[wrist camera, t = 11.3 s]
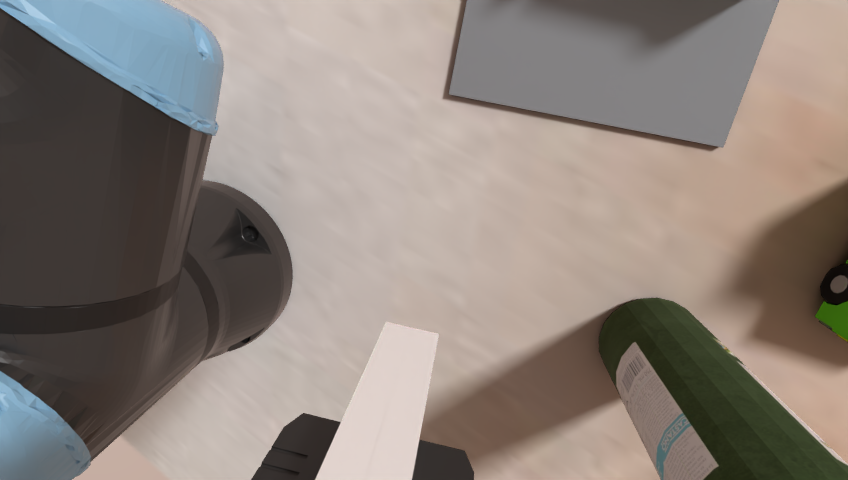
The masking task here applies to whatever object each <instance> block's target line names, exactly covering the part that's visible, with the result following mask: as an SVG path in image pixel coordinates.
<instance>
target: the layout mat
mask: <svg viewBox="0 0 848 480" xmlns="http://www.w3.org/2000/svg"><path fill="white" fill-rule="evenodd" d="M778 2H779V0H467V3H466V8H465V13H464V18H463V23H462V28H461V34H460V39H459V44H458V49H457V54H456V60H455V65H454V70H453V75H452V80H451V85H450V91H449V95H454V96H460V97H465V98H470V99H475V100H480V101H485V102H490V103H496V104H501V105H506V106H511V107H516V108H521V109H526V110H532V111H537V112H542V113H547V114H552V115H557V116H563V117H568V118H573V119H578V120H583V121H588V122H593V123H599V124H604V125H609V126H614V127H619V128H624V129H630V130H635V131H640V132H645V133H650V134H655V135H660V136H666V137H671V138H676V139H681V140H686V141H691V142H697V143H702V144H707V145H712V146H717V147H724V144H725V141H726V139H727V136H728V134H729V131H730V128H731V126H732V123H733V120H734V118H735V115H736V112H737V110H738V107H739V105H740V102H741V99H742V97H743V94H744V91H745V89H746V86H747V84H748V81H749V78H750V76H751V73H752V70H753V68H754V65H755V62H756V60H757V57H758V55H759V52H760V49H761V47H762V44H763V41H764V39H765V36H766V34H767V31H768V28H769V26H770V23H771V20H772V18H773V15H774V13H775V10H776V7H777V5H778Z"/></svg>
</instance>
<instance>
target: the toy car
mask: <svg viewBox="0 0 848 480" xmlns="http://www.w3.org/2000/svg"><path fill="white" fill-rule="evenodd" d="M846 263H847V264H848V260H847V262H846ZM820 288H821V295H822V297H823V298H824V299H825V300H826V301H827V302H826V301H823V303H822V305H821V307H820V308H819V310H818V312H817V314H816V315H815V317H816V318H818V319H819V322H820V323H822V324H823V325H825V326H826V327H827V328H829V329H831V330H832V331H833V332H835V333H837V336H839V337H840V338H842V339H844V340H845V341H847V342H848V265H840V266H837V267H835V268H832V269H831V270H830V271H829V272H828V273H827V274H826V276H825V278H824V279H823V281H822V283H821V286H820Z"/></svg>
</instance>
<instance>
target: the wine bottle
mask: <svg viewBox="0 0 848 480" xmlns="http://www.w3.org/2000/svg"><path fill="white" fill-rule="evenodd" d="M599 352H600V355H601V357H602V360H603V362H604V364H605V366H606V368H607V370H608V373H609V375H610V377H611V379H612V381H613V383H614V385H615V387H616V389H617V391H618V393H619V395H620V397H621V399H622V401H623V403H624V405H625V407H626V409H627V411H628V413H629V415H630V417H631V420H632V422H633V424H634V426H635V428H636V430H637V432H638V434H639V436H640V438H641V440H642V442H643V444H644V446H645V448H646V450H647V452H648V454H649V456H650V458H651V460H652V462H653V464H654V466H655V469H656V471H657V473H658V475H659V477H660V479H661V480H848V464H847V463H846V462H845V461H844V460H843V459H842V458H841V457H840V456H839V455H838V454H837V453H836V452H835V451H834V450H833V449H831V448H830V447H829V446H828V445H827V444H826V443H825V442H824V441H823V440H822V439H821V438H820V437H819V436H818V435H817V434H816V433H815V432H814V431H813V430H812V429H811V428H810V427H809V426H808V425H806V424H805V423H804V422H803V421H802V420H801V419H800V418H799V417H798V416H797V415H796V414H795V413H794V412H793V411H792V410H791V409H790V408H789V407H788V406H787V405H786V404H785V403H784V402H783V401H781V400H780V399H779V398H778V397H777V396H776V395H775V394H774V393H773V392H772V391H771V390H770V389H769V388H768V387H767V386H766V385H765V384H764V383H763V382H762V381H761V380H760V379H759V378H758V377H757V376H755V375H754V374H753V373H752V372H751V371H750V370H749V369H748V368H747V367H746V366H745V365H744V364H743V363H742V362H741V361H740V360H739V359H738V358H737V357H736V356H735V355H734V354H733V353H732V352H730V351H729V350H728V349H727V348H726V347H725V346H724V345H723V344H722V343H721V342H720V341H719V340H718V339H717V338H716V337H715V336H714V335H713V334H712V333H711V332H710V331H709V330H708V329H707V328H706V327H704V326H703V325H702V324H701V323H700V322H699V321H698V320H697V319H696V318H695V317H694V316H693V315H692V314H691V313H690V312H689V311H688V310H687V309H685V308H684V307H682V306H680V305H678V304H677V303H675V302H673V301H669V300H665V299H660V298H645V299H638V300H635V301H632V302H629V303H626V304H624V305H623V306H621V307H620V308H618V309H617V310H616V311H614V312H613V313H612V314H611V315H610V317H609V318H608V319H607V320H606V322H605V323H604V325H603V328H602V330H601V333H600V336H599Z"/></svg>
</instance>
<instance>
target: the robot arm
mask: <svg viewBox="0 0 848 480" xmlns="http://www.w3.org/2000/svg"><path fill="white" fill-rule="evenodd" d="M223 66H224V61H223V54H222V50H221V48H220V45H219V43H218V41H217V39H216V38H215V36H214V35H213V33H212V32H211V31H210V30H209V29H208V28H207V27H206V26H205V25H204V24H203V23H202V22H200V21H199V20H197V19H195V18H194V17H192V16H190V15H189V14H187V13H185V12H183V11H181V10H179V9H177V8H175V7H173V6H171V5H169V4H167V3H165V2H163V1H161V0H0V480H72V479H73V478H74V477H76V476H79V475H80V474H81V473H83V472H84V471H85V470H86V469H87V468H88V466H90V462H91V461H92V460H93V459H94V458H95V457H97V456H98V455H99V454H100V453H101V452H102V451H103V450H104V449H105V448H106V447H108V445H110V444H111V443H112V442H113V441H114V440H115V439H116V438H117V437H119V436H120V435H121V434H122V433H123V432H124V431H125V430H126V429H127V428H128V427H130V426H131V425H132V424H133V423H134V422H135V421H136V420H137V419H138V418H139V417H141V416H142V415H143V414H144V413H145V412H146V411H147V410H148V409H149V408H150V407H152V406H153V405H154V404H155V403H156V402H157V401H158V400H159V399H160V398H161V397H163V396H164V395H165V394H166V393H167V392H168V391H169V390H170V389H171V388H172V387H174V386H175V385H176V384H177V383H178V382H179V381H180V380H181V379H182V378H184V377H185V376H186V375H187V374H188V373H189V372H190V371H191V370H192V369H193V368H194V367H195V366H197V365H198V364H199V363H200V362H201V361H204V360H207V359H209V358H212V357H215V356H218V355H221V354H223V353H225V352H227V351H232V350H234V349H237V348H240V347H242V346H245V345H247V344H249V343H250V342H252V341H253V340H255V339H256V338H258V337H259V336H260V335H262V334H263V333H264V332H265V331H266V330H267V329H268V328H269V327H270V326H271V325H272V324H273V323H274V322H275V321H276V319H277V318H278V317H279V316H280V314H281V313H282V311H283V310H284V308H285V306H286V304H287V301H288V299H289V296H290V292H291V287H292V263H291V257H290V253H289V250H288V247H287V244H286V242H285V239H284V237H283V235H282V233H281V231H280V230H279V228H278V226H277V225H276V223H275V222H274V221H273V219H272V218H271V217H270V216H269V214H268V213H267V212H266V211H265V210H264V209H263V208H262V207H261V206H260V205H259V204H257V203H256V202H255V201H254V200H252V199H251V198H250V197H248V196H247V195H245V194H243V193H242V192H240V191H238V190H236V189H234V188H232V187H229V186H227V185H224V184H221V183H217V182H212V181H204V180H202V179H203V175H204V170H205V165H206V161H207V156H208V152H209V147H210V143H211V138H212V135H213V136H216V135H215V134H216V133H217V130H218V124H217V122H216V121H215V119H216V113H217V107H218V100H219V94H220V88H221V81H222V75H223ZM438 337H439V334H438V333H433V332H429V331H425V330H420V329H416V328H411V327H407V326H403V325H398V324H394V323H390V322H386V323H385V325H384V327H383V330H382V332H381V334H380V336H379V339H378V341H377V343H376V345H375V348H374V350H373V352H372V354H371V356H370V359H369V361H368V363H367V365H366V368H365V370H364V372H363V374H362V376H361V379H360V381H359V383H358V385H357V388H356V390H355V392H354V394H353V396H352V399H351V401H350V403H349V405H348V408H347V410H346V412H345V414H344V417H343V419H342V421H341V422H338V421H334V420H330V419H326V418H321V417H317V416H313V415H309V414H305V413H303V414H301V415H300V416H299V417H297V418H296V419H295V420H293V421H292V422H290V423H289V424H288V425H286V426H285V427H284V428H283V430H282V431H281V433H280V434H279V436H278V438H277V439H276V441H275V442H274V444H273V446H272V448H271V450H269V452H268V454H267V455H266V457H265V458H264V460H263V462H262V464H261V467H259V468H258V470H257V471H256V473H255V475H254V476H253V478H252V479H251V480H474V471H473V469H472V467H471V464H470V462H469V460H468V458H467V455H466V453H465V451H463V450H459V449H455V448H451V447H447V446H443V445H439V444H435V443H430V442H426V441H422V440H419V439H420V433H421V428H422V423H423V417H424V412H425V407H426V401H427V396H428V390H429V385H430V380H431V374H432V369H433V364H434V358H435V353H436V348H437V342H438Z"/></svg>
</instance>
